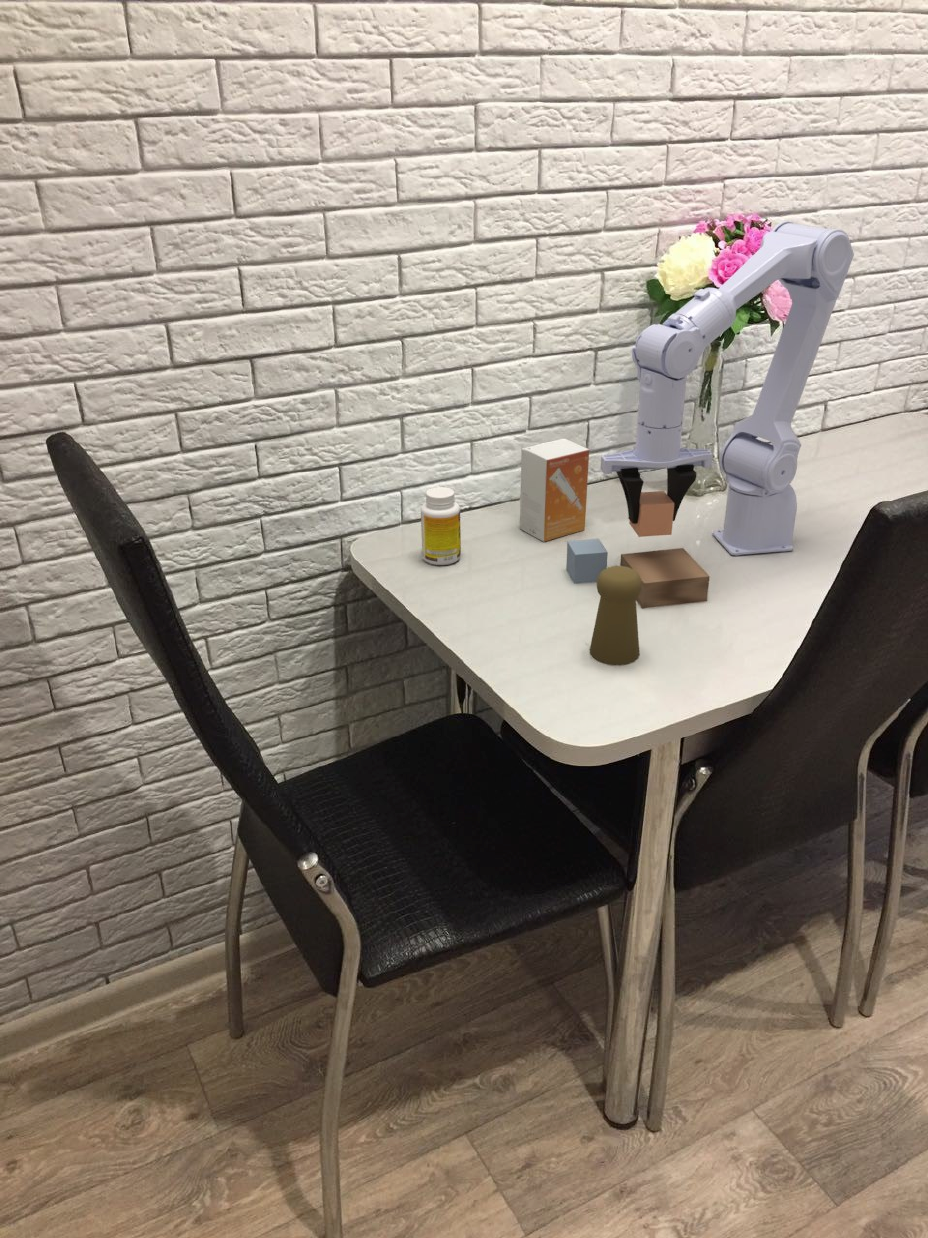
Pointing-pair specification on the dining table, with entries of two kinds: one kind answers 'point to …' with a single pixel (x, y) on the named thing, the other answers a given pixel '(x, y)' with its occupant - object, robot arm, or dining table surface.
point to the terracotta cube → (654, 514)
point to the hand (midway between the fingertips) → (651, 519)
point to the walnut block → (668, 577)
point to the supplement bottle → (440, 527)
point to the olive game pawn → (616, 617)
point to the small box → (553, 489)
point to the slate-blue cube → (585, 560)
